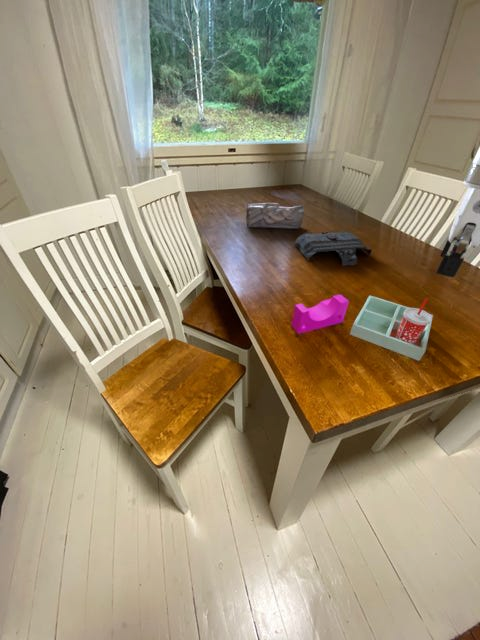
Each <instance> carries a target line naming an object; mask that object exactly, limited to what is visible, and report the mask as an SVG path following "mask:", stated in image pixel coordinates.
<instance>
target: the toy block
mask: <svg viewBox="0 0 480 640" xmlns="http://www.w3.org/2000/svg"><path fill="white" fill-rule="evenodd" d="M349 303H350V301H349V299H347V298H346V297H344V296H343V295H342V294H336V295H333V296H332V297H331V298H329V299H324V300H321V301H320V302H318V303H317V304H316V305H314V306H312V307H308V308H307V307H306V306H305V305H304V304H303V303H297V304H294V309H293V316H292V321H291V327H292V328H293V329H294V331H295V332H296V334H303V333H308V332H311V331H314V330H315V331H316V330H318V329H322V328H326V327H330V326H333V325H338V324H341V323H343V322H344V318H345V315H346V312H347V310H348V306H349Z"/></svg>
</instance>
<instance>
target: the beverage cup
mask: <svg viewBox="0 0 480 640" xmlns="http://www.w3.org/2000/svg"><path fill="white" fill-rule="evenodd" d="M428 300H429V297H425V298H424V300H423V302H422V304H421V306H420V308H416V307H409V308H408V309H406V310H405V311H404V313H403V314H404V316H403V319H402V321H401V324H400V327H399V329H398V332H397V334H396V337H395V338H396V339H399V340H402V341H405V342H407V343H410V344H413V345H414V343H415V342H416V340H417V339H418V338H419V336H420V335H421V333H422V332H423V330H424V329H425V327H426V326H427V325H428V324H429V323H430V322H431V320H432V321H433V318H432V317H431V316H430V314H431V313H429V312H427V311H425V310H424V307H425V306H426V303H427V301H428Z"/></svg>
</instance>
